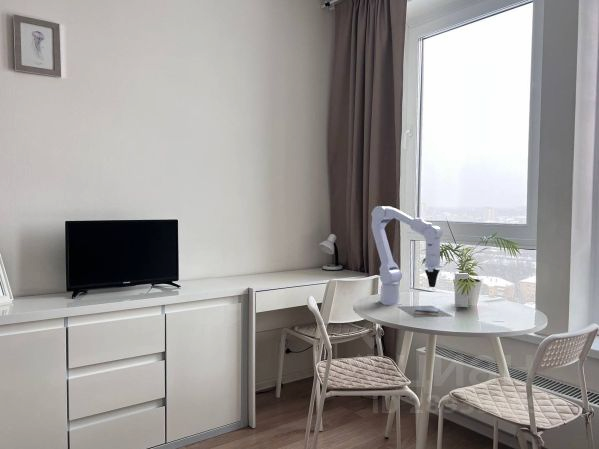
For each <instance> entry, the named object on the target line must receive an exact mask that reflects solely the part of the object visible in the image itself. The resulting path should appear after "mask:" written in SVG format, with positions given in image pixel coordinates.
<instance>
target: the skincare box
mask: <svg viewBox="0 0 599 449" xmlns="http://www.w3.org/2000/svg"><path fill="white" fill-rule="evenodd" d="M459 272H460V271H455V273H454V307H458V308H459V307H461V308H469V306H470V305H469V306H468V296H467V297H465V296H463V295H461V294H460V293H459V292H458V291H457V289H458V288H457V285H455V284H456V281H457V280H459V279H468V277H469V278H470V273H469V274H468V273H459ZM456 288H457V289H456ZM455 289H456V291H455Z"/></svg>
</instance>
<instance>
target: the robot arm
mask: <svg viewBox="0 0 599 449" xmlns="http://www.w3.org/2000/svg"><path fill="white" fill-rule="evenodd" d="M370 214H371V231H372V235H373V237H374V242H375V245H376V249H377V252H378V256H379V260H380V266H379V280H380V281H381V282H382V284H381V286H380V299H378V302H379V303H380V304H382V305H385V306H388V305H389V306H390V305H391V306H394V305H399V306H401V305H402V303H401V302H400V300H399V299H400V281H401V280H402V277H403V273H402V271H401V270H400V268H399V266H398V264H397V263H396V262H395V261H394V259H393V258H394V257H393V255H392V251H391V249H390V245H389V241H388V237H387V234H386V230H385V228H386V226H387V224H388V223H389V222H390V221H392V220H393V219H396V220H398V221H400V222H402V223H404V224H406V225H408V226H409V228H410V229H411V230H412V231H413V232H416V233H418V234H419V235H421V236H423V238H424V239H425V264H424V267H425V268H426V269H425V270H424V272H425V275H426V277H427V281H428V287H429V288H435V287H436V285H437V284H436V283H437V278H438V276H439V273H440V270H441V269H440V268H443V264H440V263H441V262H440V261H441V260H440V259H441V257H440V255H441V252H440V251H441V250H440V249H441V238H442V237H443V230H442V228H441V227H440V226H438V225H433V223H431V222H427V221H425V220H423V218H422V217H415V218H413V217H411V216H410V215H408V214H406V213H404V212H403V211H401V210H400V209H398V208H395V207H393V206H390V205H388V206H387V205H386V206H383V205H382V206H381V205H377V206H375V207H374V208H373V209H372V211H371V213H370Z"/></svg>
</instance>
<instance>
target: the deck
mask: <svg viewBox="0 0 599 449" xmlns="http://www.w3.org/2000/svg"><path fill="white" fill-rule="evenodd" d="M439 309H440V308H437V307H435V308H426V307H416V309H415V314H425V315H437V316H438V314H439Z"/></svg>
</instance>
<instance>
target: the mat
mask: <svg viewBox="0 0 599 449" xmlns="http://www.w3.org/2000/svg"><path fill="white" fill-rule="evenodd" d="M396 307H397V308H398V309H400V310H401V311H403V312H404V313H407V314H408V315H409V316H411V317H413V318H442V317H443V318H444V317H445V318H446V317H453V315H451V314H450V313H447V312H445V311H444V310H442V309H440V308H438V309H439V314H438V316H437V315H425V314H415V309H416V307H426V308H436V307H435V306H434V305H408V306H407V305H406V306H405V305H402V306H401V305H399V306H396Z"/></svg>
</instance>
